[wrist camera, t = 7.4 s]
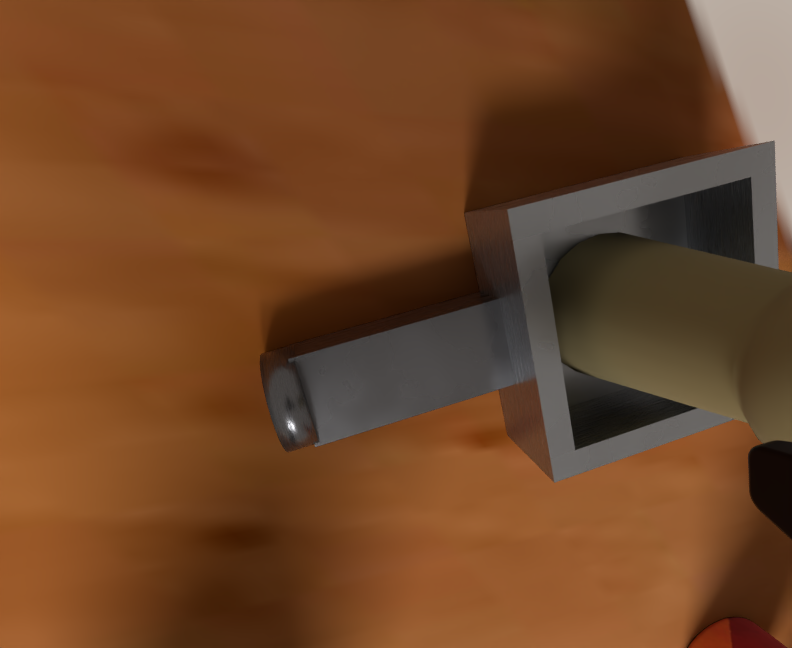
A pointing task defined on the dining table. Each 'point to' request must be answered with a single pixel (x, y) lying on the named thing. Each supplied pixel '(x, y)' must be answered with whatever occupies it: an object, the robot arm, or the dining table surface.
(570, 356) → the cork
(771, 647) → the paper cup
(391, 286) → the dining table surface
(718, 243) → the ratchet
